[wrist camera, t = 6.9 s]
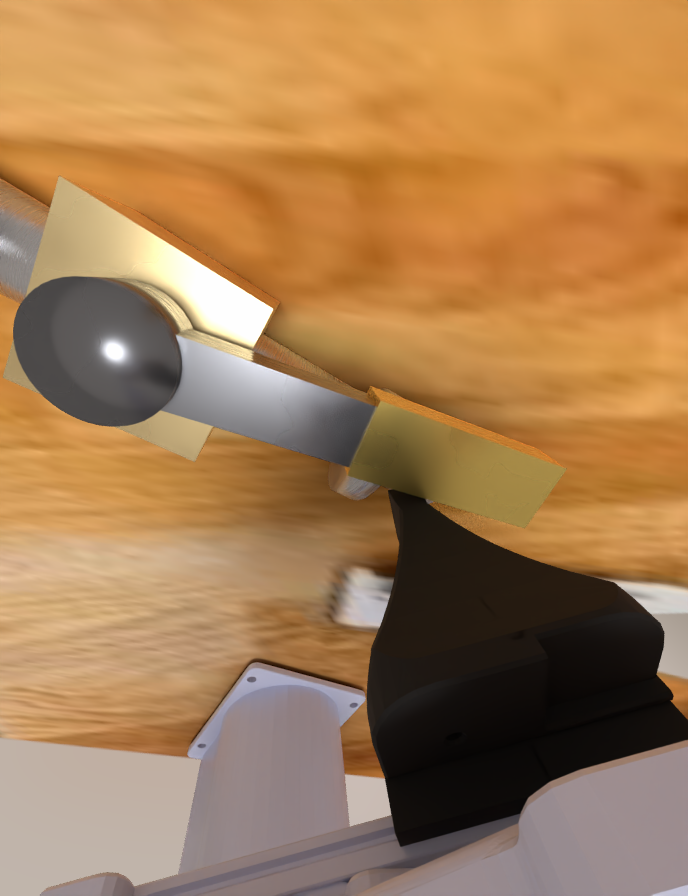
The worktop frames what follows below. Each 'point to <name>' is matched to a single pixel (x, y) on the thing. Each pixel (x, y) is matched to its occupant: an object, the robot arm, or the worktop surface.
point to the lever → (260, 398)
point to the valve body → (150, 261)
